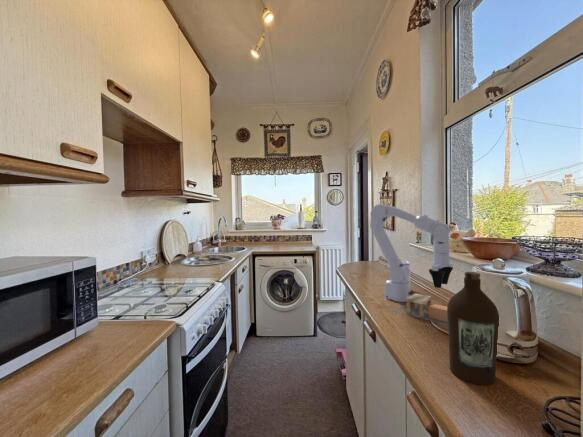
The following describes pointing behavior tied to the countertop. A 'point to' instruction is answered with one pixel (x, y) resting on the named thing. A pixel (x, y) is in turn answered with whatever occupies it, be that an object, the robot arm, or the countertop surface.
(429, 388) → the countertop surface
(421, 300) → the wooden tunnel
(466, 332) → the olive oil
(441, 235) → the robot arm
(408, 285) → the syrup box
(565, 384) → the countertop surface
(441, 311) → the terracotta block
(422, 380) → the countertop surface
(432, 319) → the board
